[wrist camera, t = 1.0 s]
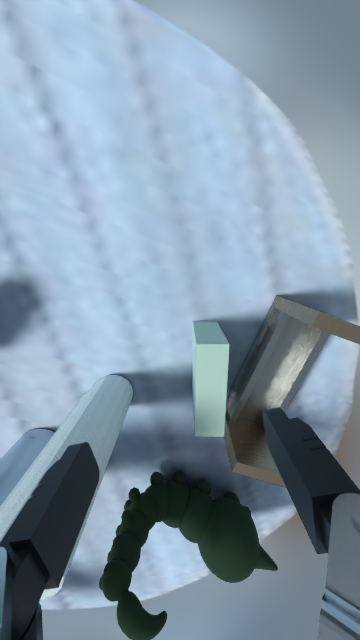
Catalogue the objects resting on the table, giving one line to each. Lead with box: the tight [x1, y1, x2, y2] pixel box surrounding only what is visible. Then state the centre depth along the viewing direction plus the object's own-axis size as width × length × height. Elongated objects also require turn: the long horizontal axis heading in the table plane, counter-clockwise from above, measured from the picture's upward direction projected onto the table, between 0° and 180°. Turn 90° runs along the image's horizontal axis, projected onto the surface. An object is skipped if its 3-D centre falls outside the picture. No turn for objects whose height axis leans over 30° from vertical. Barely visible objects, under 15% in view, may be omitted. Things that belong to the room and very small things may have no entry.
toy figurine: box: [99, 471, 278, 640], centre depth 32 cm, size 9×19×25 cm
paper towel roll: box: [0, 375, 133, 600], centre depth 24 cm, size 7×6×21 cm
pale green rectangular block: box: [192, 321, 229, 437], centre depth 29 cm, size 12×4×9 cm, turn 0°
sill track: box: [224, 295, 360, 488], centre depth 28 cm, size 21×8×10 cm, turn 160°
